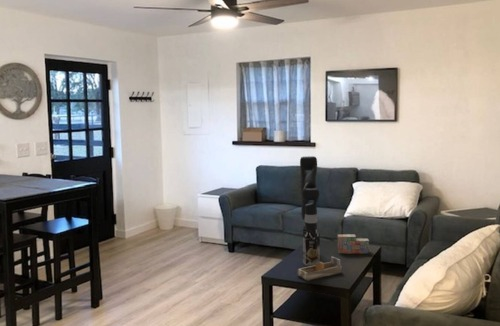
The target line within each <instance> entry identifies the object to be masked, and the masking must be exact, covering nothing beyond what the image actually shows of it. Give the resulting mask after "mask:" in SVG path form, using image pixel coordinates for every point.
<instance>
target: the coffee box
mask: <svg viewBox="0 0 500 326" xmlns="http://www.w3.org/2000/svg"><path fill="white" fill-rule="evenodd" d="M314 238H315V237H314ZM314 241H315V239H314ZM317 241H318V239H317ZM320 243H321V241H320V242H319V243H317V249H313V240H312V239H311V238H310V237H303V236H302V263H303V264H304V265H305V266H313V265H316V264H320V262H321V257H320V256H321V253H320V252H321V251H320V249H321V247H320V246H321V245H320Z"/></svg>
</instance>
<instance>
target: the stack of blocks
mask: <svg viewBox="0 0 500 326" xmlns="http://www.w3.org/2000/svg"><path fill="white" fill-rule="evenodd" d="M337 252H338V254H366V255H367V254H369V253H370V240H369V238H357V236H356V234H354V233H353V234H349V233H347V234H337Z"/></svg>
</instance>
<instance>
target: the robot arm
mask: <svg viewBox="0 0 500 326" xmlns="http://www.w3.org/2000/svg"><path fill="white" fill-rule="evenodd" d="M299 160H300V161H299V165H300V166H299V167H300V179H301V180H300V181H301V182H300V184H301V185H300V191H301V193H300V195H301V212H300V215H301V219H302V220H303V221H304V225H303V229H302V238H303V237H310V238H311V239H312V240H313V249H317V243H319V242H320V243H321V238H320V237H321V236H320V232H317V231H318V208H317V207H318V203H319V202H318V201H319V198H320V190H319V189H318V188H317V182H316V181H317V173H318V172H317V171H318V159H317V157H316V156H312V155H311V156H310V155H309V156H301V157H300V159H299ZM307 171H309V172H308V173H307ZM311 201H312V202H311ZM309 202H310V203H309ZM314 237H315V238H314ZM314 239H315V241H314ZM317 239H318V241H317Z"/></svg>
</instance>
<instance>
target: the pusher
mask: <svg viewBox="0 0 500 326" xmlns="http://www.w3.org/2000/svg"><path fill="white" fill-rule="evenodd" d="M324 263H325V262H322V261H320V264H316V265H315V271H319V270H323V269H324Z"/></svg>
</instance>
